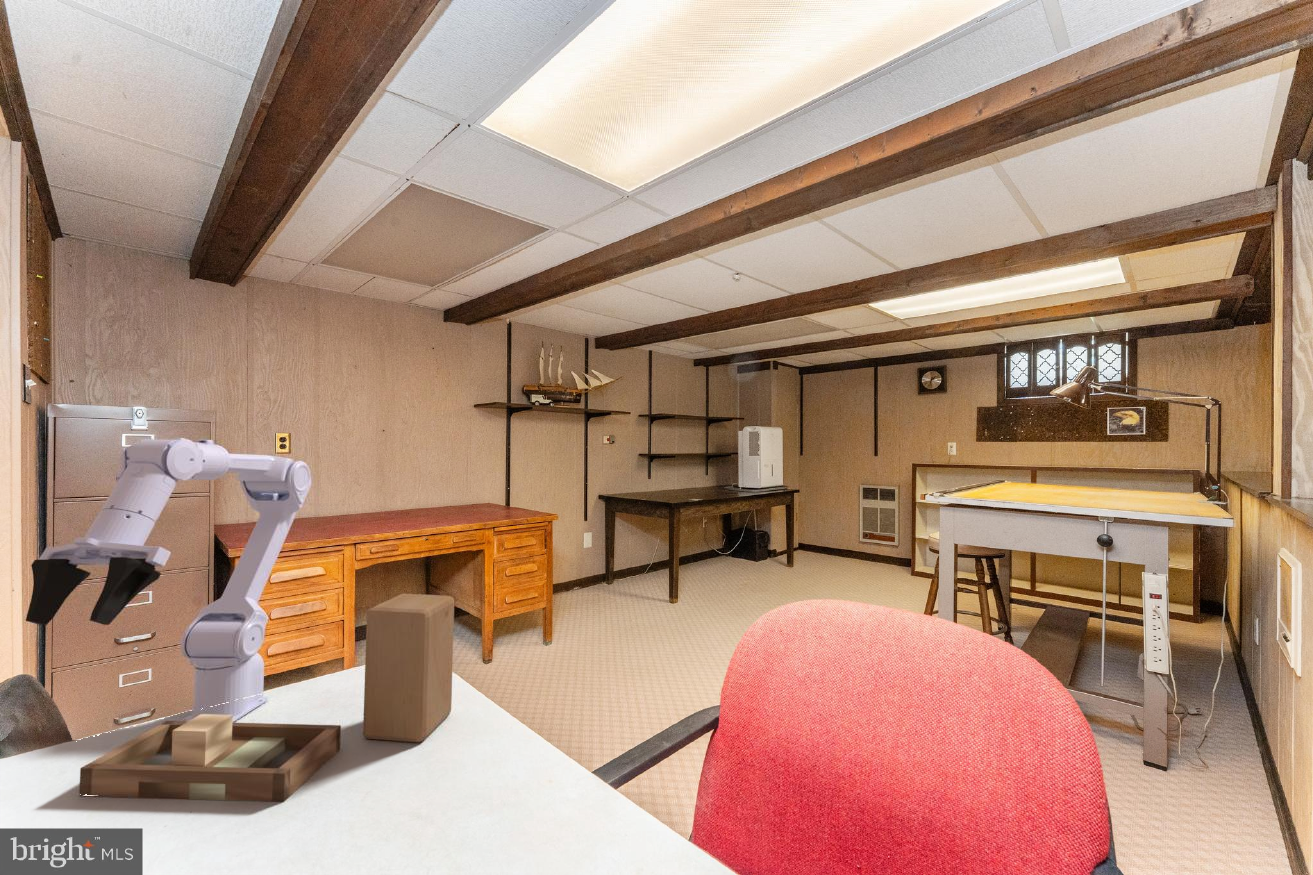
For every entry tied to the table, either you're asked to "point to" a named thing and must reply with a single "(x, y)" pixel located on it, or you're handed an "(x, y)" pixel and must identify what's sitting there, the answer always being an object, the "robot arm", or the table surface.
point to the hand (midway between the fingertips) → (67, 622)
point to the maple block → (201, 739)
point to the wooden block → (408, 667)
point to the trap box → (215, 764)
